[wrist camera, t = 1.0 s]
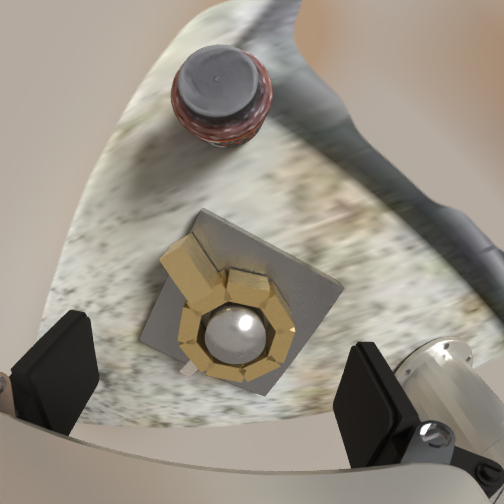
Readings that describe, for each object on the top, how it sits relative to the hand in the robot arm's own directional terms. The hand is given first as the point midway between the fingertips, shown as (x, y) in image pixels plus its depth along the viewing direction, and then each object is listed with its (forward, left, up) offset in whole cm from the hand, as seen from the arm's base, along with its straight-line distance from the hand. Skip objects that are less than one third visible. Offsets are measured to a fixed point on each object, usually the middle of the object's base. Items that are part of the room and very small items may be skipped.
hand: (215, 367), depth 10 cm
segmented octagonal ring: (-2, +5, -16) cm, 17 cm away
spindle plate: (-3, +6, -18) cm, 19 cm away
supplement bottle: (+6, -9, -18) cm, 21 cm away
